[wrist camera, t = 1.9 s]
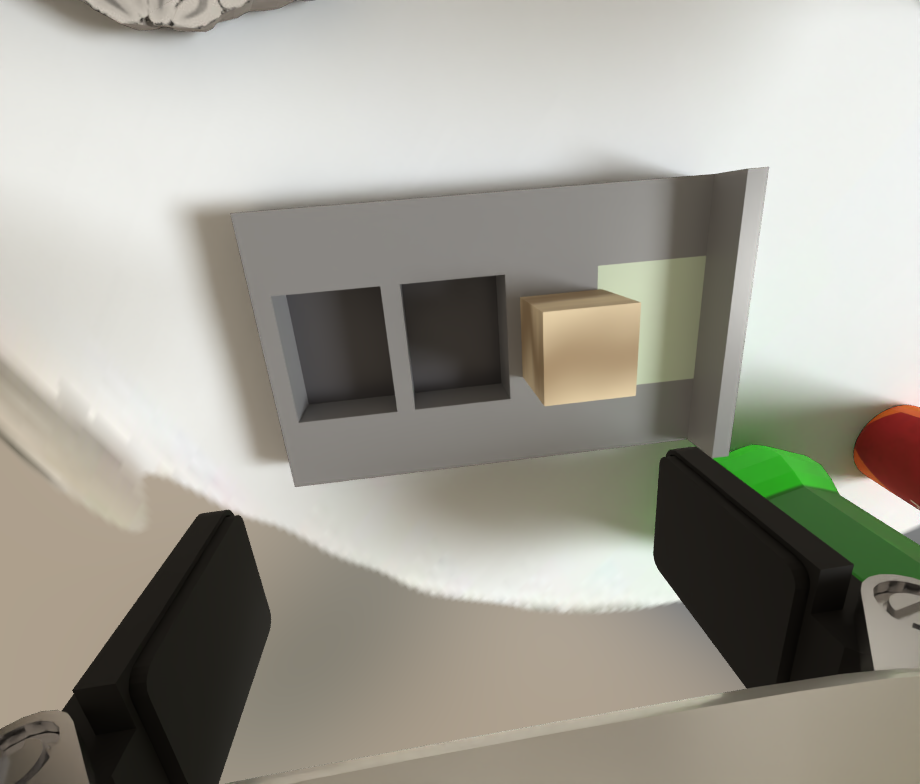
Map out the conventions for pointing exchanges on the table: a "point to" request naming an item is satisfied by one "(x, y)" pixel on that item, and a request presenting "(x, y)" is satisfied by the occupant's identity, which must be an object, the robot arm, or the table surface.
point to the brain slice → (179, 12)
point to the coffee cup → (892, 452)
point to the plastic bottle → (824, 510)
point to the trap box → (496, 319)
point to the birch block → (580, 346)
